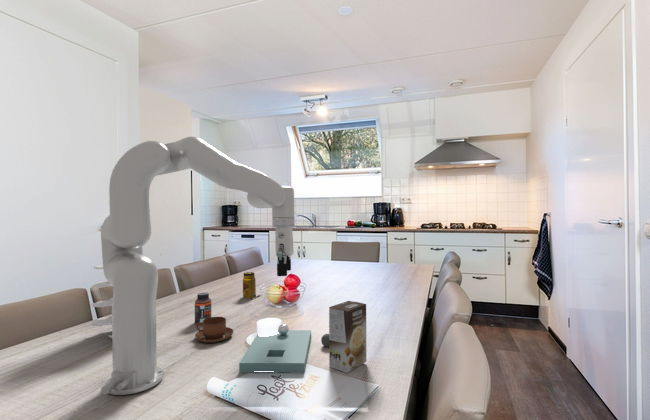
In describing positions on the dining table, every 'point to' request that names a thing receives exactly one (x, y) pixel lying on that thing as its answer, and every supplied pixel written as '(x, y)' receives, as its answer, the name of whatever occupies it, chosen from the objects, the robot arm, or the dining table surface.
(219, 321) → the cup and saucer
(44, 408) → the dining table surface
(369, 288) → the dining table surface
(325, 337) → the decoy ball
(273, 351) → the grey-green flat board
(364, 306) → the coffee box
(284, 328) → the ball
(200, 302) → the supplement bottle
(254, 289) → the condiment
